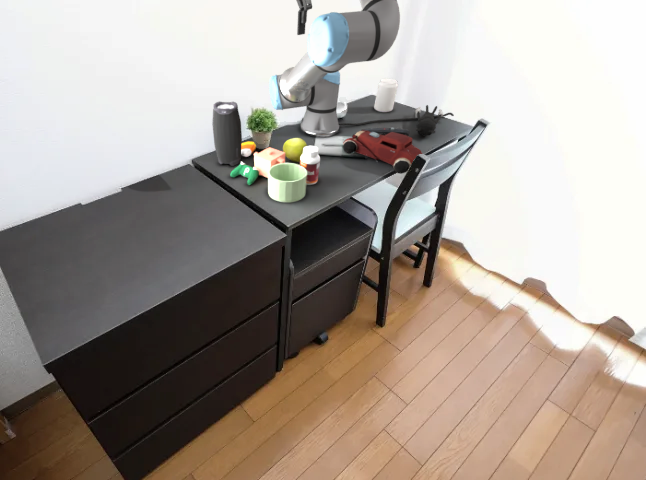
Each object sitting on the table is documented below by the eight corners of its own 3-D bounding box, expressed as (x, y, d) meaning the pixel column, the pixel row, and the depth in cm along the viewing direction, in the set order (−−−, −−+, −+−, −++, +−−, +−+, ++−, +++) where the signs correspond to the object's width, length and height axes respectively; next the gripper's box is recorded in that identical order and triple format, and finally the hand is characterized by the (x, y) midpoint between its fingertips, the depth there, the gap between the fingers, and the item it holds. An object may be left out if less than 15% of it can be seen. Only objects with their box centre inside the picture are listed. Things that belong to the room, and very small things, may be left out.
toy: (414, 113, 167) (407, 137, 145) (418, 97, 163) (411, 120, 141) (441, 116, 163) (437, 142, 142) (445, 101, 159) (442, 125, 138)
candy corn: (255, 140, 138) (251, 151, 133) (257, 147, 140) (253, 158, 135) (240, 141, 140) (235, 152, 134) (242, 149, 142) (237, 160, 136)
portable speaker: (213, 158, 135) (207, 102, 122) (237, 153, 138) (234, 98, 125) (221, 169, 129) (215, 111, 116) (246, 163, 132) (244, 106, 119)
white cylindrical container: (394, 108, 169) (401, 79, 161) (389, 114, 164) (395, 85, 156) (377, 105, 172) (382, 77, 164) (371, 110, 167) (376, 82, 159)
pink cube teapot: (261, 163, 132) (261, 141, 127) (289, 174, 126) (290, 150, 121) (247, 172, 128) (246, 149, 122) (275, 183, 122) (275, 159, 116)
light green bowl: (288, 179, 124) (289, 159, 119) (313, 193, 117) (315, 173, 112) (260, 190, 119) (260, 170, 114) (284, 206, 112) (285, 186, 107)
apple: (302, 168, 129) (304, 146, 124) (279, 162, 133) (279, 140, 127) (312, 158, 134) (313, 137, 129) (289, 153, 138) (289, 132, 132)
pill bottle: (295, 183, 122) (297, 151, 114) (302, 174, 126) (304, 143, 119) (314, 187, 120) (317, 154, 112) (320, 178, 124) (323, 146, 117)
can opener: (407, 140, 144) (411, 126, 140) (406, 148, 139) (410, 134, 135) (360, 134, 148) (363, 120, 144) (358, 141, 143) (360, 127, 140)
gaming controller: (254, 188, 123) (263, 172, 123) (248, 184, 120) (257, 167, 119) (234, 179, 128) (242, 163, 127) (228, 175, 124) (236, 158, 124)
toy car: (359, 141, 143) (365, 115, 137) (429, 167, 129) (439, 139, 123) (337, 153, 135) (342, 126, 128) (409, 182, 121) (419, 153, 114)
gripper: (256, -50, 122) (258, 27, 136) (308, -47, 106) (303, 38, 120) (275, -51, 125) (274, 24, 139) (327, -49, 109) (321, 35, 123)
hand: (288, 31), depth 130 cm, fingers open, 13 cm apart
